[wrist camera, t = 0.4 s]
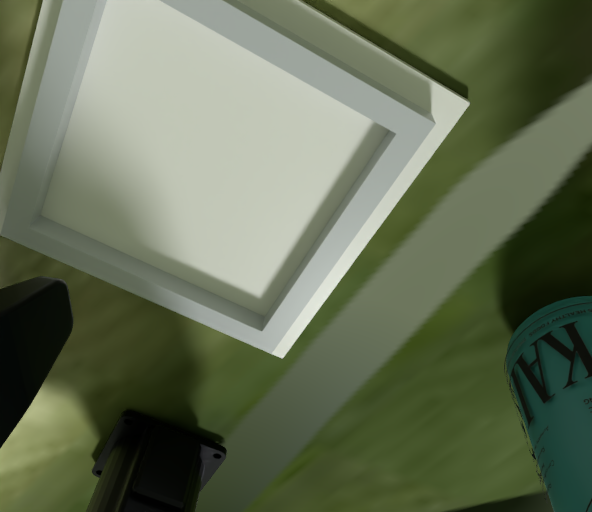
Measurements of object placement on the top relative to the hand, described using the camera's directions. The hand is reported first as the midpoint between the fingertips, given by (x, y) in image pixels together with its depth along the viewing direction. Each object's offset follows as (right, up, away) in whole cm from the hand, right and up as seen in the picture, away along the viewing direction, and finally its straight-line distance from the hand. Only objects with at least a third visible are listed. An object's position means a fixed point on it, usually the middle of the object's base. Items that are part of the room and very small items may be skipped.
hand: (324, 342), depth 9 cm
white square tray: (-4, +5, +14) cm, 15 cm away
